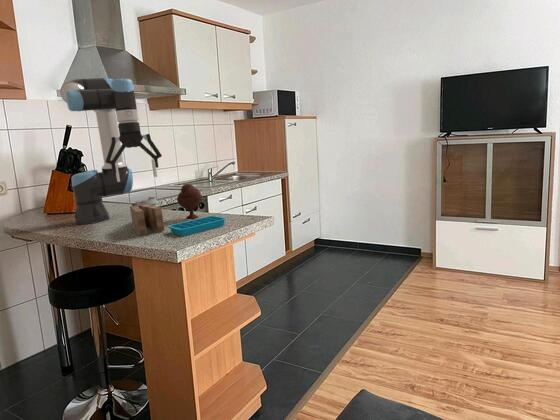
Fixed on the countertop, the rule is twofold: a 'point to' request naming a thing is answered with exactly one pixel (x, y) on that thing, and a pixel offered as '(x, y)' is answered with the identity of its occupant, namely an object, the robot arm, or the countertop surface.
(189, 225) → the ice cube tray
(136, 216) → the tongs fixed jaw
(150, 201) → the food container
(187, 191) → the ice cream bowl
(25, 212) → the countertop surface
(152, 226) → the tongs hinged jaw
